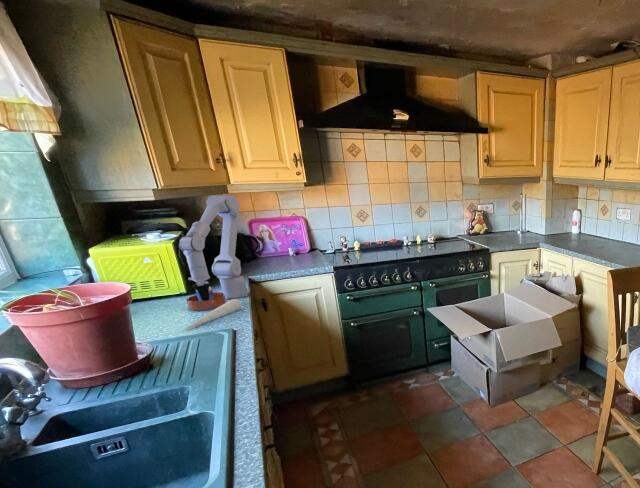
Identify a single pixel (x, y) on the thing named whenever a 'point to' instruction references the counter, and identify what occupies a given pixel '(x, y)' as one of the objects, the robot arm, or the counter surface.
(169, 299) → the counter surface
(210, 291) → the pill bottle
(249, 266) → the counter surface
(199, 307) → the bowl
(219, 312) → the unicorn horn
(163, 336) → the counter surface
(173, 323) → the counter surface
